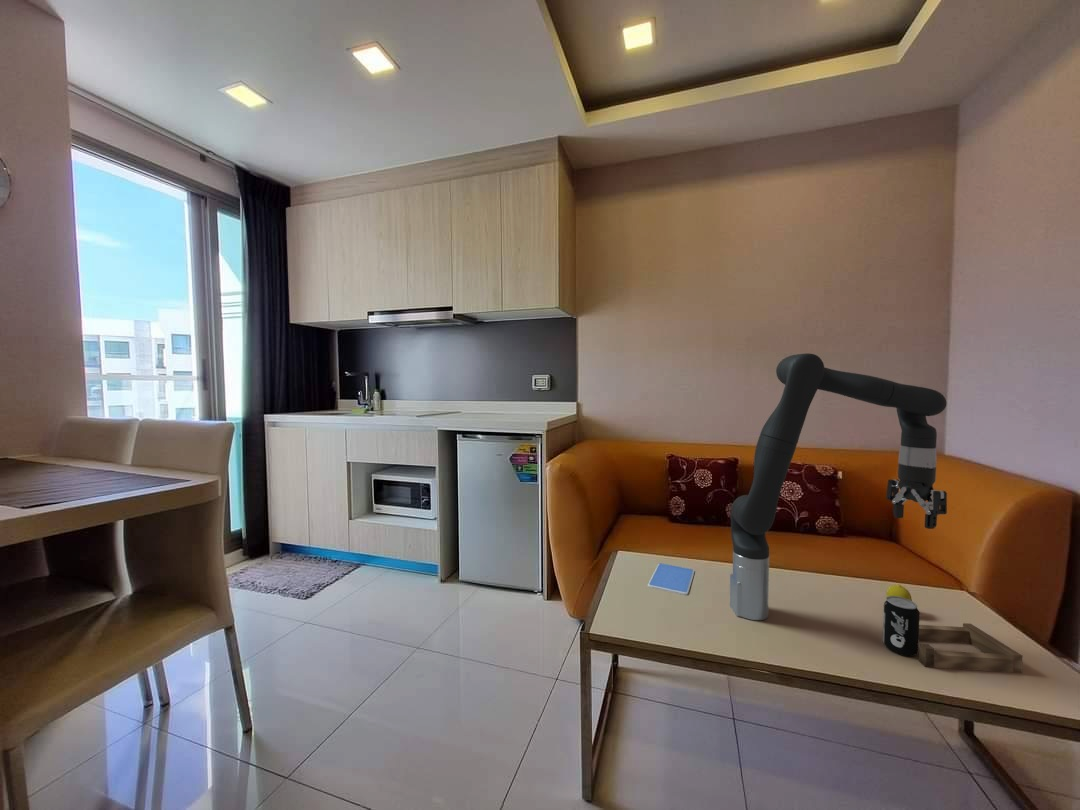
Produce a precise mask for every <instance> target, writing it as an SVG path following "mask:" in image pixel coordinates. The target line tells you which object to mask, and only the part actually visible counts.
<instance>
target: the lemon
mask: <svg viewBox="0 0 1080 810" xmlns="http://www.w3.org/2000/svg"><path fill="white" fill-rule="evenodd" d="M888 596H897V597H902V598H905V599H908V600H911V601H913V599H912V595H911V593H910V591H909V590H908V589H907V588H906V587H904V586H902V585H901V584H893V585H891V586H889V587H888V588H887V591H886V595H885V598H887V597H888Z"/></svg>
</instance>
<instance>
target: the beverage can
mask: <svg viewBox="0 0 1080 810" xmlns="http://www.w3.org/2000/svg"><path fill="white" fill-rule="evenodd" d="M885 598H886V597H885ZM920 614H921V613H920V611H919V609H918V605H917V603H916V602H914V601H913V600H912V601H911V600H908V599H905V598H902V597H897V596H888V597H887V598H886V599H885V601H884V602H883V620H882V621H883V622H882V623H883V625H882V626H883V627H882V642H883V644H884V646H885V647H886V648H887V649H888V650H889V651H891V652H893V653H895V654H897V655H899V656H904V657H914V656H915V655H918V653H919V644H920V643H919V642H920V640H919V625H920Z"/></svg>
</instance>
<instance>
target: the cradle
mask: <svg viewBox="0 0 1080 810" xmlns="http://www.w3.org/2000/svg"><path fill="white" fill-rule="evenodd" d="M919 641H930V642H931V641H932V642H950V643H968V644H969V645H972V646H973V647H974V648H976V649H978V650H979V651H980V652H974V651H973V652H971V651H955V650H939V649H938V650H937V649H935V648H934V647H933V646H932V645H931V644H929V643H919V648H918V653H919V654H918V655H919V656H918V662H919V663H920V664H921V665H922V666H923V667H925V668H936V669H937V668H939V669H954V670H956V669H957V670H971V671H972V670H973V671H983V672H984V671H986V672H1003V673H1016V674H1017V673H1019V674H1022V673H1023V655H1022V654H1020V653H1019V652H1018V651H1016V650H1014V649H1012V648H1011V647H1009V646H1008V645H1006V644H1004V643H1003V642H1001V641H999V640H998V639H997V638H995V637H993V636H992V635H990V634H988V633H987V632H986V631H983V630H982V629H980V628H979V627H977V626H976V625H974V624H972V623H966V622H963V623H962V626H950V625H932V624H931V625H930V624H919Z"/></svg>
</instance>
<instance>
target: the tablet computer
mask: <svg viewBox="0 0 1080 810" xmlns="http://www.w3.org/2000/svg"><path fill="white" fill-rule="evenodd" d="M694 575H695V569H693V568H687V567H682V566H676V565H672V564H671V565H670V564H667V563H658V564H657V565H656V567H655V570H654V571H653V573H652V576H651V578H650V579H649V582H648V583H647V587H648V588H650V589H654V590H659V591H663V592H668V593H673V594H678V595H683V596H687V595H688V594H689V593H690V588H691V586H692V583H693V582H692V581H693V578H694Z"/></svg>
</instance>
